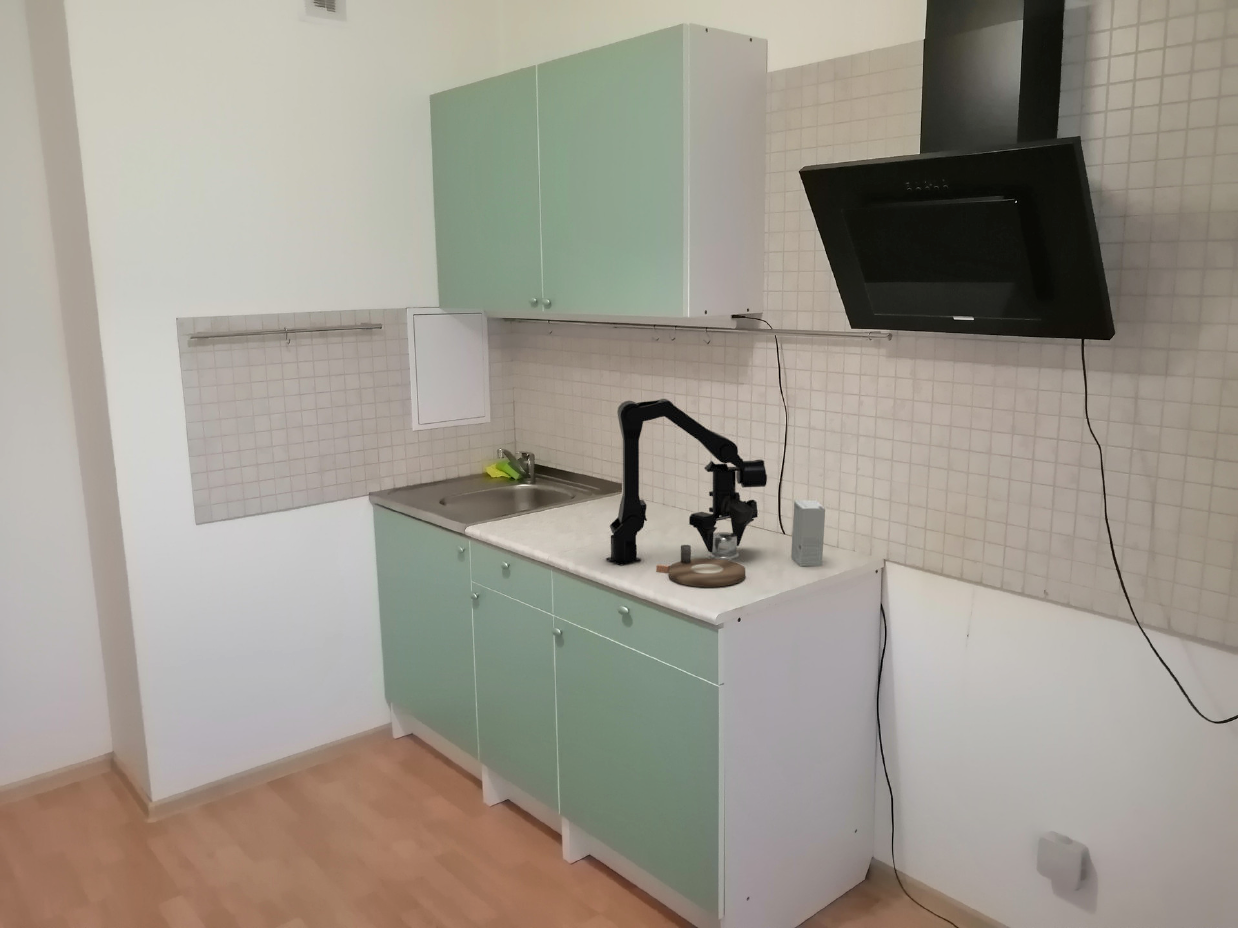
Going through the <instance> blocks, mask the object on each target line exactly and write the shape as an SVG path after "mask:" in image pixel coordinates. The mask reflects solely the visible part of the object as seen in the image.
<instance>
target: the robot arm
mask: <svg viewBox="0 0 1238 928" xmlns="http://www.w3.org/2000/svg"><path fill="white" fill-rule="evenodd" d="M663 417H665V418H666V419H668V420H669V421H670V422H672V423H673V424H675V425H676V426H678V427H679V428H680V429H681V430H683V431H684V432H686V433H687V434H689V435H690V436H691V437H693V438H694V439H696V440H697V441H698V442H699V443H700V444H701V445H702V446H703V447H704V448H705V449H706V451H708V452H709V453H710V454H711V456H713V457H714V458H715V459H717V460H718V461H719V462H720V463H715V462H714V461H713V460H710V462H709V463H708V464H706V466H704V470H705V471H706V473H707V472H708V473H712V490H711V491H709V492H708V496H709V497H712V506H711V507H709V508H708V511H709V513H708V512H704V511H699V512H694V513H691V514H690V515H689V520H688V522H689V523H688V525H689V526H692V527H693V528H695V529H696V530H697V532H698V534H699V535H700V537H701V539H702V541H703V542H704V546H705V547H706V549H707V552H709V553H710V552H712V551H713V533H715V531H716V530H717V529H718V527H717V526H716V524H717V522H718V521H723V520H729V519H730V524H731V531H732V533H734V534H736V535H737V547H738V546H740V543H741V541H742V538H743V535H744V533H745V530H746V528H747V526H748V525H749V524H751V522H754V521H755V518H758V515H759V513H758V504H757V503H758V502H757V501H756V500H754V499H749V500H747V501H746V500H744V501H742V500H741V495H740V492H737V491H736V487H737V486H736V483H737V485H739V484H740V487H741V488H763V487H765V488H766V486H767V482H768V474H767V471H766V470H767V469H766V466H765V461H764V460H763V459H755V460H744V459H743V458H741V456H740V455H739V449H738V445H737V444H736V443H735V442H734V441H732V440H731V439H729V438H727V437H726V436H723V435H721V434H719V433H717V432H715V431H712V430H710V429H708V428H706V427H705V426H703V425H702V424H701V423H700V422H698V421H697V420H695V419H694V418H692V417H691V416H690V415H688V414H687V413H685V412H684V411H683V410H681V409H680V408H678V407H677V406H676V405H674V404H673V402H672V401H671V400H669V399H668V398H661V399H656V400H650V401H649V400H647V401H646V400H645V401H641V402H636V401H634V400H626V401H623V402H621V404H620V405H619V406H618V407H617V419H618V424H619V428H620V433H621V437H622V494H621V495H622V496H621V500H620V504H619V509H618V515H617V518H616V519H614V520H613V521H612V523H610V524H609V528H610V531H611V533H612V534H610V556H609V557H606V558H605V560H606V561H608V562H611V563H613V564H617V565H619V566H624V565H630V564H632V563H637V562H641V561H642V559H641V558H640V557H638V553H637V548H638V547H637V535H638V533H639V532H640V531H641V530H642V529H644V527H645V526H644V525H645V522H647V521H648V519H647V516H646V512H647V505H648V504H647V503H646V502H645V500H644V499H641V498H640V480H639V479H640V449H639V448H640V437H641V434H642V430H643V424H644V422H646V421H651V420H656V419H660V418H663ZM729 463H730V464H732V466H728V464H729Z"/></svg>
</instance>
